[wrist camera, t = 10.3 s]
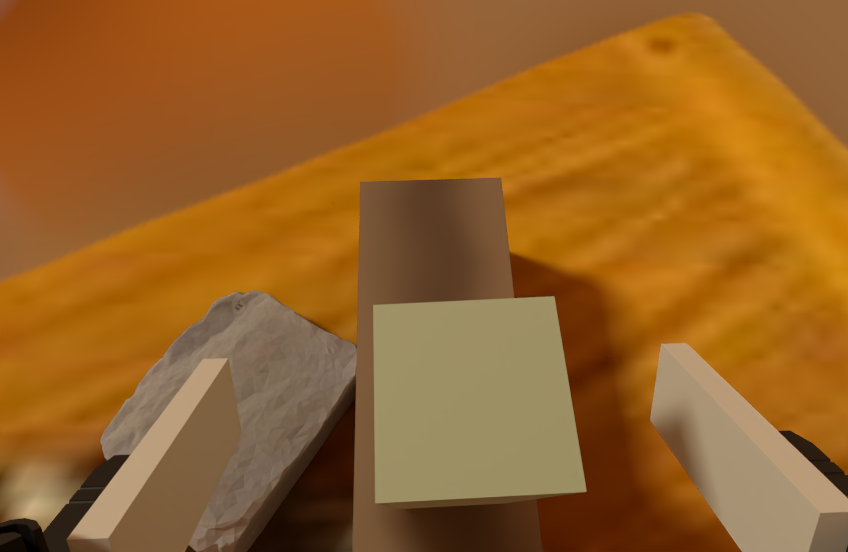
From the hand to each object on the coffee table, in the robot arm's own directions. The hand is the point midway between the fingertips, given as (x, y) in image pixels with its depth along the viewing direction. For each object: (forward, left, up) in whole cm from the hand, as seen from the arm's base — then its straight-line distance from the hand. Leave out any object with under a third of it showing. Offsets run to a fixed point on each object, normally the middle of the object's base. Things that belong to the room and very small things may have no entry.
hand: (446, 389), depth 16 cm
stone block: (-11, +2, -13) cm, 17 cm away
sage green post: (0, -1, -6) cm, 6 cm away
